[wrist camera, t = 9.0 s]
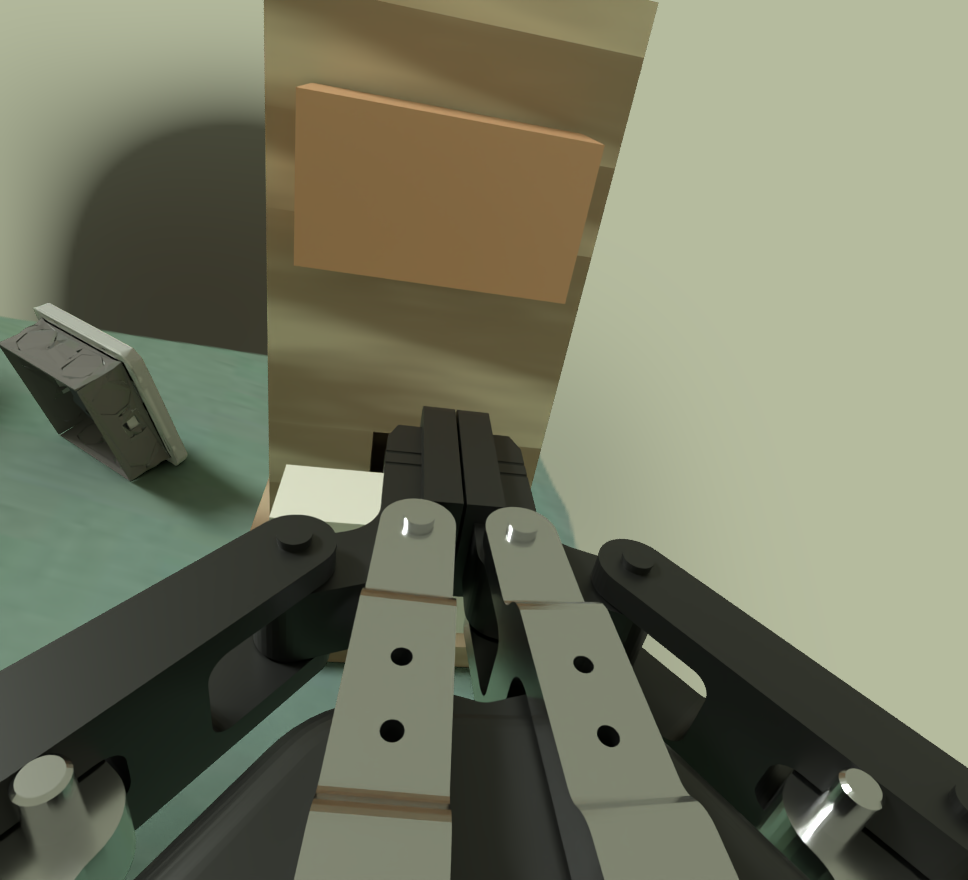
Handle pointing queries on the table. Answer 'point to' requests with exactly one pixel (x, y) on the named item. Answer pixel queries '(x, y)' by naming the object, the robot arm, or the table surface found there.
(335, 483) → the lower knob
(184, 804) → the table surface
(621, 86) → the knob post
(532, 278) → the orange block
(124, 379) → the electrical switch
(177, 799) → the table surface
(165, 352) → the table surface
